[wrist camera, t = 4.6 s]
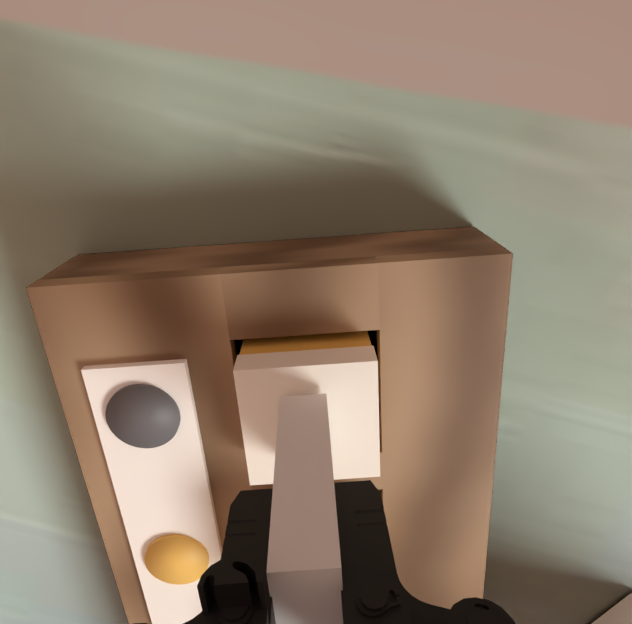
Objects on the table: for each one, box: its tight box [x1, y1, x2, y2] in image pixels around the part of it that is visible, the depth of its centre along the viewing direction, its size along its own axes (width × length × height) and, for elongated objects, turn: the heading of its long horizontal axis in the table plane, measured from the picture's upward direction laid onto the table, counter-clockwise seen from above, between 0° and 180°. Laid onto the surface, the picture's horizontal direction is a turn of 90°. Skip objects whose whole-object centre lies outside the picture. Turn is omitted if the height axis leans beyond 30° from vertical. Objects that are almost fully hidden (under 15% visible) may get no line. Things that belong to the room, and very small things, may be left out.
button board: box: [26, 227, 513, 624], centre depth 23 cm, size 16×24×4 cm, turn 4°
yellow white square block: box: [233, 331, 380, 485], centre depth 18 cm, size 5×5×4 cm
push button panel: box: [81, 359, 222, 624], centre depth 21 cm, size 4×18×1 cm, turn 4°
